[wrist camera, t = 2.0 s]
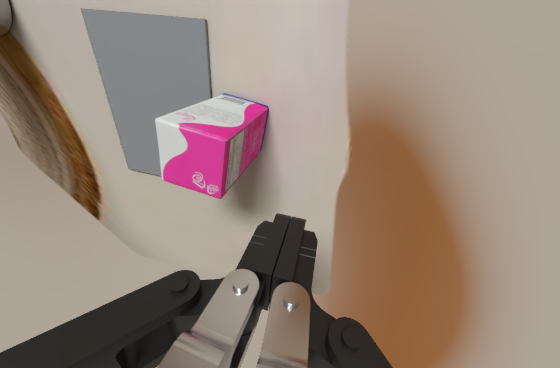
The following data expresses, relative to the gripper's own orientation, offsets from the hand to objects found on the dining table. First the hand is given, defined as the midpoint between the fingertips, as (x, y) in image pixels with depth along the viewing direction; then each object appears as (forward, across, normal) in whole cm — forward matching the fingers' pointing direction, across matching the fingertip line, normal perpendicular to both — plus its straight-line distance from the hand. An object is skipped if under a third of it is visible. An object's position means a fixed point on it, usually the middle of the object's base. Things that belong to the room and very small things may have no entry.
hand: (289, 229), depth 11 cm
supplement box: (+17, +9, 0) cm, 19 cm away
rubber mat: (+16, +21, 0) cm, 26 cm away
